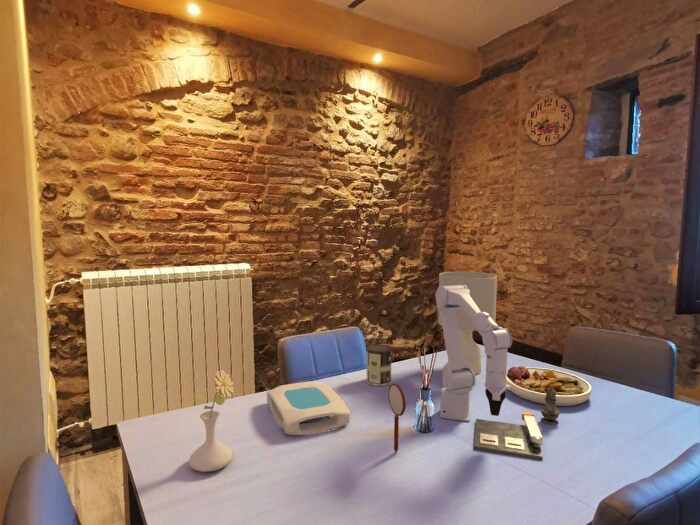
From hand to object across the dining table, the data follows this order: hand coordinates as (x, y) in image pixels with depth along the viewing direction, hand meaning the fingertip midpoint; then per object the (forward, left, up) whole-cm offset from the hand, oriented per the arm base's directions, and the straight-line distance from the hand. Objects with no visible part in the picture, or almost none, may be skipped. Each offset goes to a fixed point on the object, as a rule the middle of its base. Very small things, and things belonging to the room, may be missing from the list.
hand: (494, 414), depth 127 cm
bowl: (+20, +46, -9) cm, 50 cm away
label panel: (+4, +3, -8) cm, 9 cm away
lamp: (-11, +62, -8) cm, 63 cm away
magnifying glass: (-26, -15, -8) cm, 32 cm away
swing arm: (+11, +6, -6) cm, 14 cm away
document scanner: (-61, 0, -9) cm, 61 cm away
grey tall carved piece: (+18, +20, -8) cm, 28 cm away
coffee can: (-44, +37, -8) cm, 58 cm away
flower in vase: (-72, -35, -8) cm, 81 cm away
